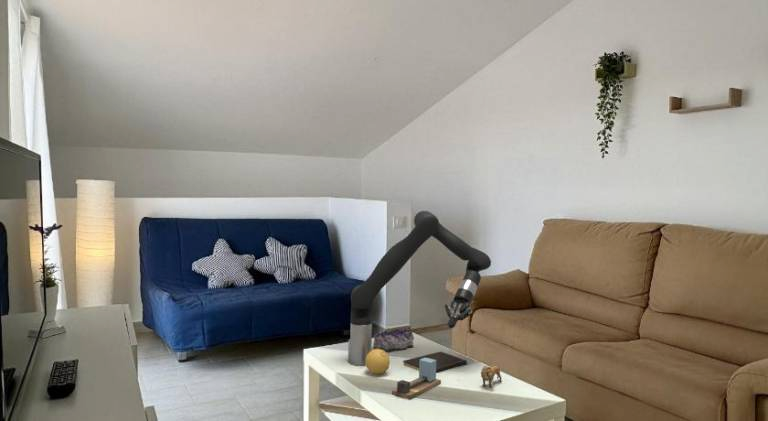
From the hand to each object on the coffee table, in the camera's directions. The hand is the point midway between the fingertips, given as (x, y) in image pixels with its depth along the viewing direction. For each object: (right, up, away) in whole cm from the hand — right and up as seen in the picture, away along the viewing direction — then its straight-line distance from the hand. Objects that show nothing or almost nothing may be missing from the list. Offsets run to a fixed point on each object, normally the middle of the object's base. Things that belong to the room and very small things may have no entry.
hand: (450, 326), depth 227 cm
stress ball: (-30, -19, -1) cm, 36 cm away
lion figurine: (+15, -21, -12) cm, 28 cm away
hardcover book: (-5, -19, +11) cm, 23 cm away
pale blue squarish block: (-10, -18, -12) cm, 24 cm away
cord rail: (-15, -20, -18) cm, 30 cm away
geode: (-22, -17, +35) cm, 45 cm away
